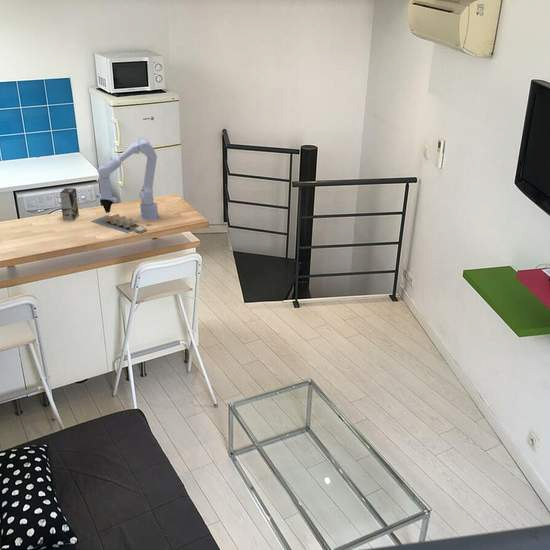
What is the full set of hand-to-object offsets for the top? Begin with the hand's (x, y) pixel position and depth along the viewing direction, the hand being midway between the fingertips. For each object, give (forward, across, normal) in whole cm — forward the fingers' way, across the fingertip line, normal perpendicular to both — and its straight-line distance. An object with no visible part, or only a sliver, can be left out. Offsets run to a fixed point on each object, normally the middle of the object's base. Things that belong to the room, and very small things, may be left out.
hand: (107, 212), depth 340 cm
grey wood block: (+4, +4, 0) cm, 6 cm away
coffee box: (+6, -21, -8) cm, 23 cm away
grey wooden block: (+4, +9, 0) cm, 10 cm away
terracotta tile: (+4, -1, 0) cm, 5 cm away
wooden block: (+4, +14, 0) cm, 15 cm away
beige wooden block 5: (+4, +18, 0) cm, 19 cm away
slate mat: (+6, +6, 0) cm, 8 cm away
